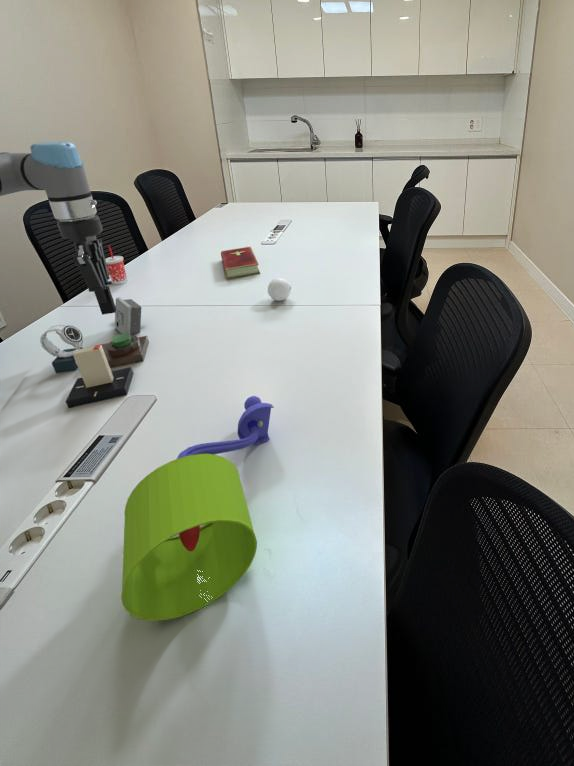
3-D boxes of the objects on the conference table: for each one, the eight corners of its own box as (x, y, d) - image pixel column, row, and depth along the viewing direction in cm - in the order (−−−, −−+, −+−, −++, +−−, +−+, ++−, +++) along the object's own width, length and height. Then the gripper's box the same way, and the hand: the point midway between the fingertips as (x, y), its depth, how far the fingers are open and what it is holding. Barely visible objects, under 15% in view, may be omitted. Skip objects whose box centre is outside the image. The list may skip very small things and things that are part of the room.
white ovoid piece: (293, 302, 123) (291, 281, 120) (269, 306, 121) (266, 285, 118) (290, 289, 132) (287, 269, 129) (267, 292, 130) (265, 272, 127)
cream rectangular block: (86, 387, 85) (72, 353, 81) (88, 383, 86) (74, 349, 83) (112, 382, 87) (99, 348, 83) (113, 377, 88) (101, 344, 84)
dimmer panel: (67, 410, 82) (64, 402, 81) (80, 383, 90) (77, 376, 89) (126, 397, 85) (123, 389, 84) (134, 372, 93) (131, 364, 92)
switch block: (88, 372, 93) (82, 359, 92) (97, 352, 101) (93, 339, 99) (143, 361, 97) (139, 348, 95) (149, 342, 105) (145, 329, 103)
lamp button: (112, 349, 96) (110, 343, 95) (115, 341, 99) (113, 335, 98) (130, 346, 97) (128, 340, 96) (133, 337, 100) (131, 332, 100)
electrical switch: (114, 328, 112) (108, 298, 109) (134, 322, 116) (129, 293, 112) (126, 339, 106) (120, 309, 103) (147, 333, 110) (141, 303, 107)
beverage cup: (109, 281, 142) (97, 245, 136) (127, 276, 145) (117, 241, 140) (112, 286, 138) (100, 250, 132) (131, 281, 141) (120, 245, 136)
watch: (84, 369, 94) (69, 331, 90) (47, 374, 93) (30, 335, 89) (95, 356, 99) (81, 319, 95) (60, 360, 98) (44, 323, 94)
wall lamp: (127, 382, 64) (121, 548, 40) (265, 366, 76) (322, 486, 52) (127, 453, 69) (121, 641, 45) (257, 427, 81) (307, 565, 56)
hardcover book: (226, 279, 141) (224, 269, 139) (222, 260, 158) (220, 250, 157) (260, 273, 145) (258, 263, 143) (252, 255, 163) (250, 245, 161)
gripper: (89, 223, 79) (121, 322, 89) (104, 208, 90) (131, 297, 100) (45, 227, 77) (83, 328, 86) (66, 212, 88) (98, 303, 98)
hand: (109, 312), depth 93 cm, fingers closed
